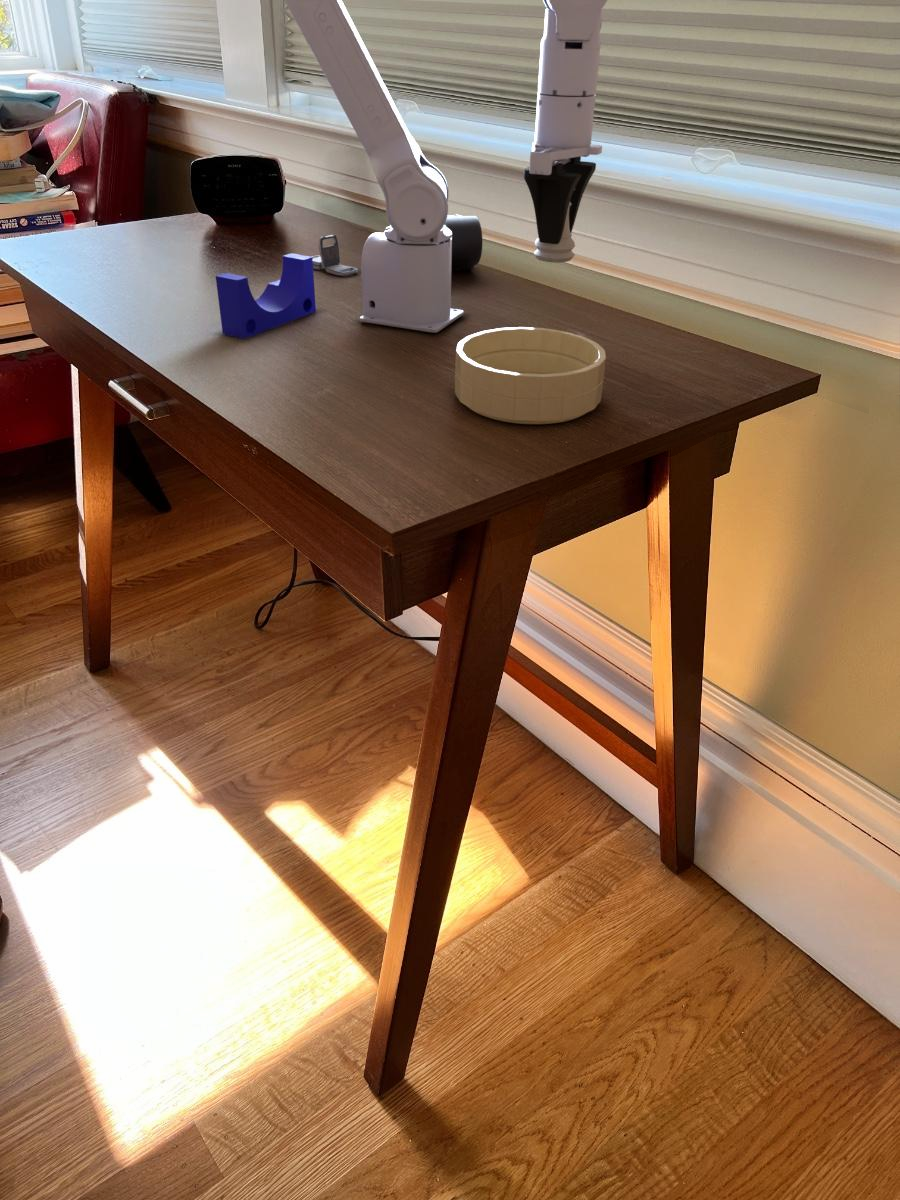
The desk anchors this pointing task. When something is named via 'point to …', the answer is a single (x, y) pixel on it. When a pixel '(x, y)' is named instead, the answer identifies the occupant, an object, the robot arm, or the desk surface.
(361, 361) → the desk surface
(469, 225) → the end cap
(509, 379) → the pan
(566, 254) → the rook chess piece
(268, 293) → the blue pipe saddle bracket
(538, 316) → the desk surface
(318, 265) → the strap clip
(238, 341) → the desk surface
